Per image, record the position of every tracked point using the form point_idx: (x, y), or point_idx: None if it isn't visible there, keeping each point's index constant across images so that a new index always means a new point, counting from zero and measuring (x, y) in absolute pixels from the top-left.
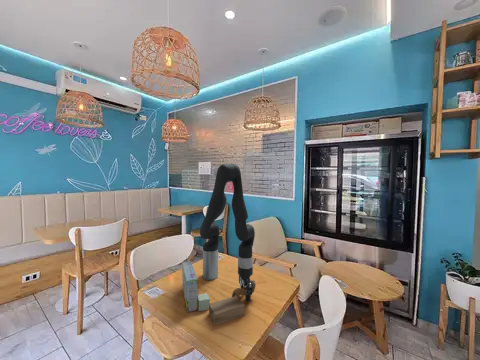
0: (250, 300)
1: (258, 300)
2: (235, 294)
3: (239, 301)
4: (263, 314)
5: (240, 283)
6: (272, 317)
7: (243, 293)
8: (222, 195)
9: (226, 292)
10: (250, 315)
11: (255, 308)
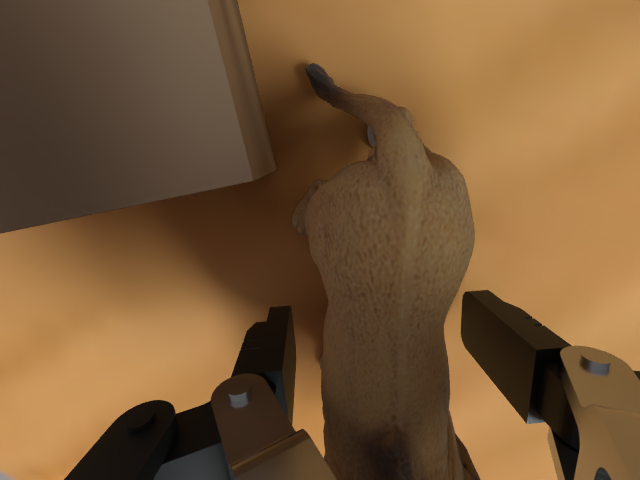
0: (321, 360)
1: (309, 434)
2: (341, 169)
3: (23, 187)
4: (61, 414)
5: (611, 413)
6: (10, 474)
7: (324, 338)
8: None
9: (632, 90)
10: (51, 285)
11: (173, 369)
